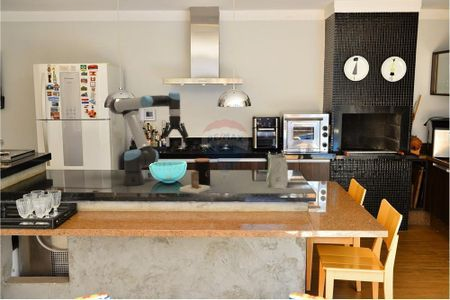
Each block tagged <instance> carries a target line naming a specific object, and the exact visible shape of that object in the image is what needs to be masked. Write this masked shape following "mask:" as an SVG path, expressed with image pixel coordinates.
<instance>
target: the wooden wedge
mask: <svg viewBox="0 0 450 300" xmlns="http://www.w3.org/2000/svg"><path fill="white" fill-rule="evenodd" d="M190 183H191V187H192V188H196V189H198V188H199V174H198V171H195V170H193V171H190Z"/></svg>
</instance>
